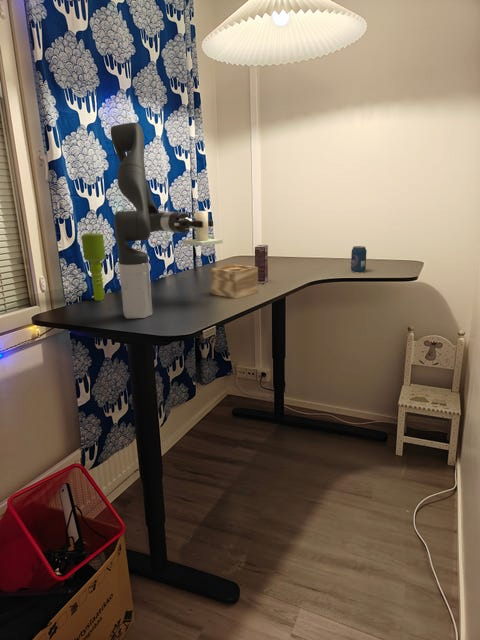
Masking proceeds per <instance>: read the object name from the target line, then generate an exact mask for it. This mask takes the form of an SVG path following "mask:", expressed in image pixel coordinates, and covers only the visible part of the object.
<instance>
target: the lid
mask: <svg viewBox="0 0 480 640" xmlns="http://www.w3.org/2000/svg"><path fill="white" fill-rule="evenodd" d="M194 218H195V221H203V227H202V228H198V227H196V228H195V235H196V236H195V237H196V238H194V239H188V240H187V239H186V240H182V245H187V246H196V247H197V246H198V247H199V246H200V247H206V246H211V245H217V244H218V245H219V244H223V243H224V242H223V239H219V238H218V239H217V238H210V235H209V226H208V219H209V211H208V210H198V211H196V210H195V211H194Z"/></svg>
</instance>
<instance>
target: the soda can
mask: <svg viewBox="0 0 480 640" xmlns="http://www.w3.org/2000/svg"><path fill="white" fill-rule="evenodd" d="M366 268H367V249H366V246H361V245H357V246H353V247H352V250H351V256H350V271H351V272H352V271H353V272H352V273H354V272H363V273H365V271H366V270H367V269H366Z"/></svg>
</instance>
